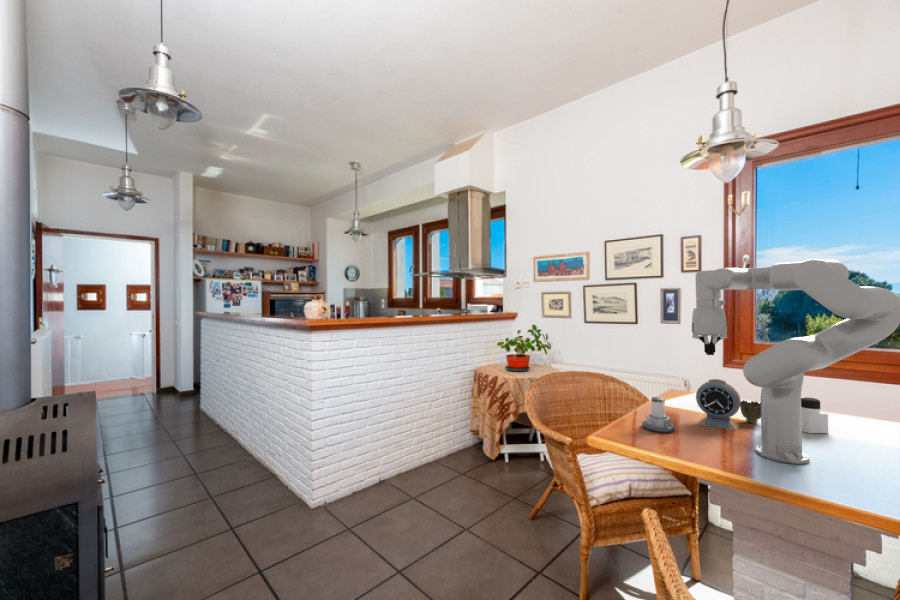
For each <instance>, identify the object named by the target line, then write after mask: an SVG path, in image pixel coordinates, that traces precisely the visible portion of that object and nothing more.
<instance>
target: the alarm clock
mask: <svg viewBox="0 0 900 600" xmlns="http://www.w3.org/2000/svg"><path fill="white" fill-rule="evenodd" d="M695 400H696V404H697V405H698V407H699V408H700V410H701V411H702V412H704V413H705V414H706V416H704V417H701V418H700V420H699V421H698V423H697V425H698V424H699V425H700V426H704V425H706V426H705V427H710V426H712V427H711V428H716V427H717V429H722V428H723V429H724V430H728V429H729V431H734V430H735V431H734V432H737V431H738V429H739V426H740V423H738V422H736V421H734V420H731V417H733V416H734V415H736V414H737V413H738V412H739V409H741V408H740V404H741V401H742V399H741V396H740V394H739V392H738V391H737V389H736V388H735V387H733V386H732V385H731V384H730V383H727V381H726V380H724V379H720V378H719V379H718V378H711V379H708V381H706V382H705V383H702V384H701V385H700V386H699V387H698V388H697V390H696V394H695ZM737 428H738V429H737Z"/></svg>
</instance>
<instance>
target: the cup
mask: <svg viewBox="0 0 900 600" xmlns="http://www.w3.org/2000/svg"><path fill="white" fill-rule="evenodd" d="M739 409H740V412H741V415H742V416H743V417H744V418H745V421H746V423H748V424H752V423H756V424H758V422H759V421H758V420H759V419H760V420H761V402H758V401H757V400H756V401H754V400H751V401H749V402H748V401H747V400H744V399H743V400H741V404H740V408H739Z"/></svg>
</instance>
